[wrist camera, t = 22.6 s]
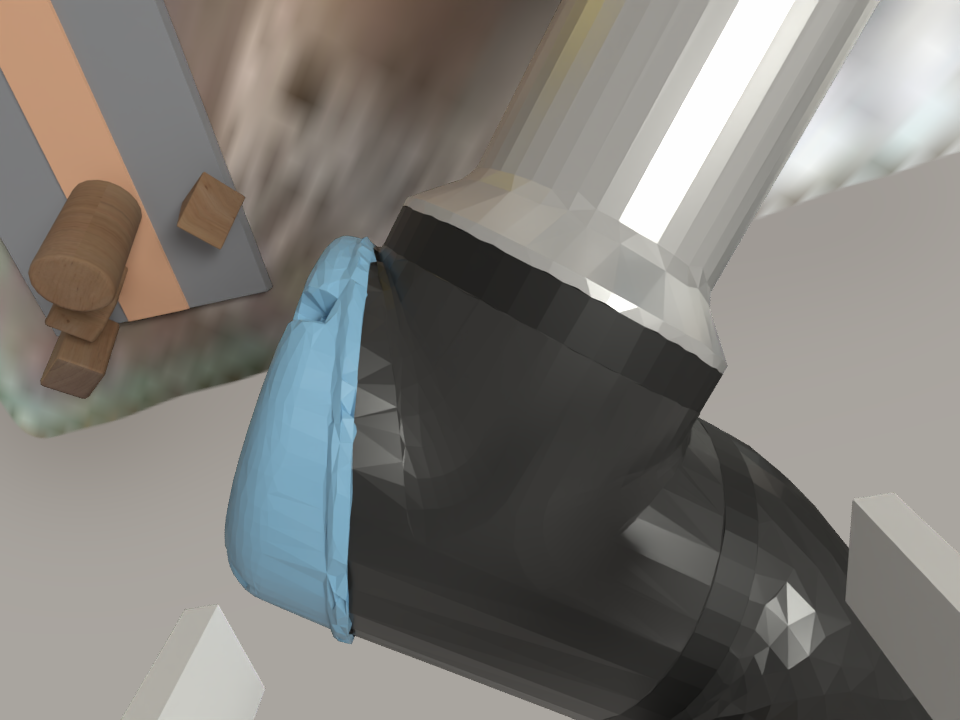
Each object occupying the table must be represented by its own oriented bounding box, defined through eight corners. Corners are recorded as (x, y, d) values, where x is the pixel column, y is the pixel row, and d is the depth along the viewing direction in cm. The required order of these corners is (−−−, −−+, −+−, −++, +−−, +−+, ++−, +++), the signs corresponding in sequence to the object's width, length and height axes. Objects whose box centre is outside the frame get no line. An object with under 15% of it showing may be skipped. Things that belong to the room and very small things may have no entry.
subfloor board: (134, -75, 35) (120, -83, 34) (272, 286, 45) (266, 292, 44) (-120, -4, 37) (-144, -8, 35) (66, 330, 47) (54, 337, 45)
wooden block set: (130, 344, 48) (105, 434, 41) (9, 297, 43) (-45, 391, 35) (246, 186, 42) (241, 259, 35) (121, 107, 36) (83, 174, 29)
